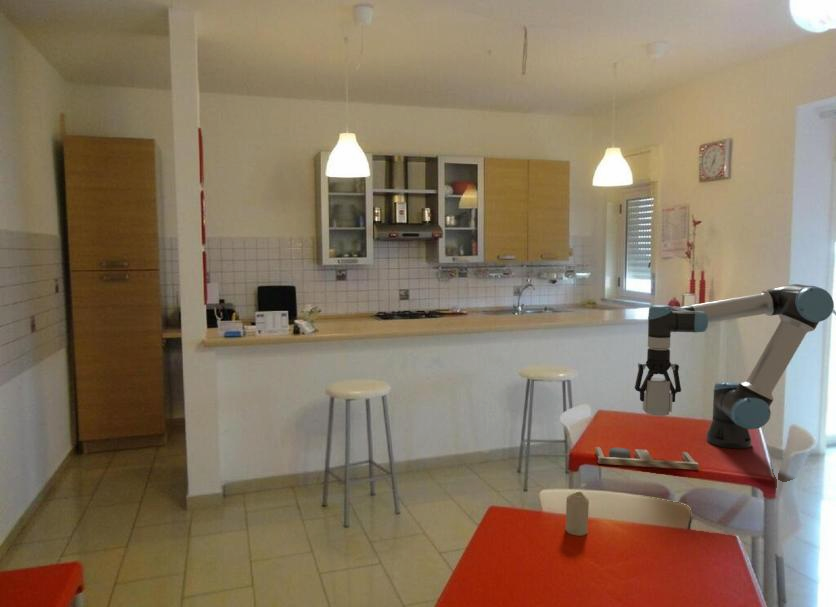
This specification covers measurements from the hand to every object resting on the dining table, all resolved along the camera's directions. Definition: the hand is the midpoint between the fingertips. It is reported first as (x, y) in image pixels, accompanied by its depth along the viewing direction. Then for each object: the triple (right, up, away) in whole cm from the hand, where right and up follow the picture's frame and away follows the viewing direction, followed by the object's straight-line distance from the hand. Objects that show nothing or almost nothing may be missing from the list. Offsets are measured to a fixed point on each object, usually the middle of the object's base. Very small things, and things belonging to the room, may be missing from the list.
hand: (657, 410), depth 217 cm
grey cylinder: (0, -1, 0) cm, 1 cm away
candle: (-45, -21, -61) cm, 79 cm away
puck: (-16, -16, -8) cm, 24 cm away
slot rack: (-8, -16, -10) cm, 20 cm away
